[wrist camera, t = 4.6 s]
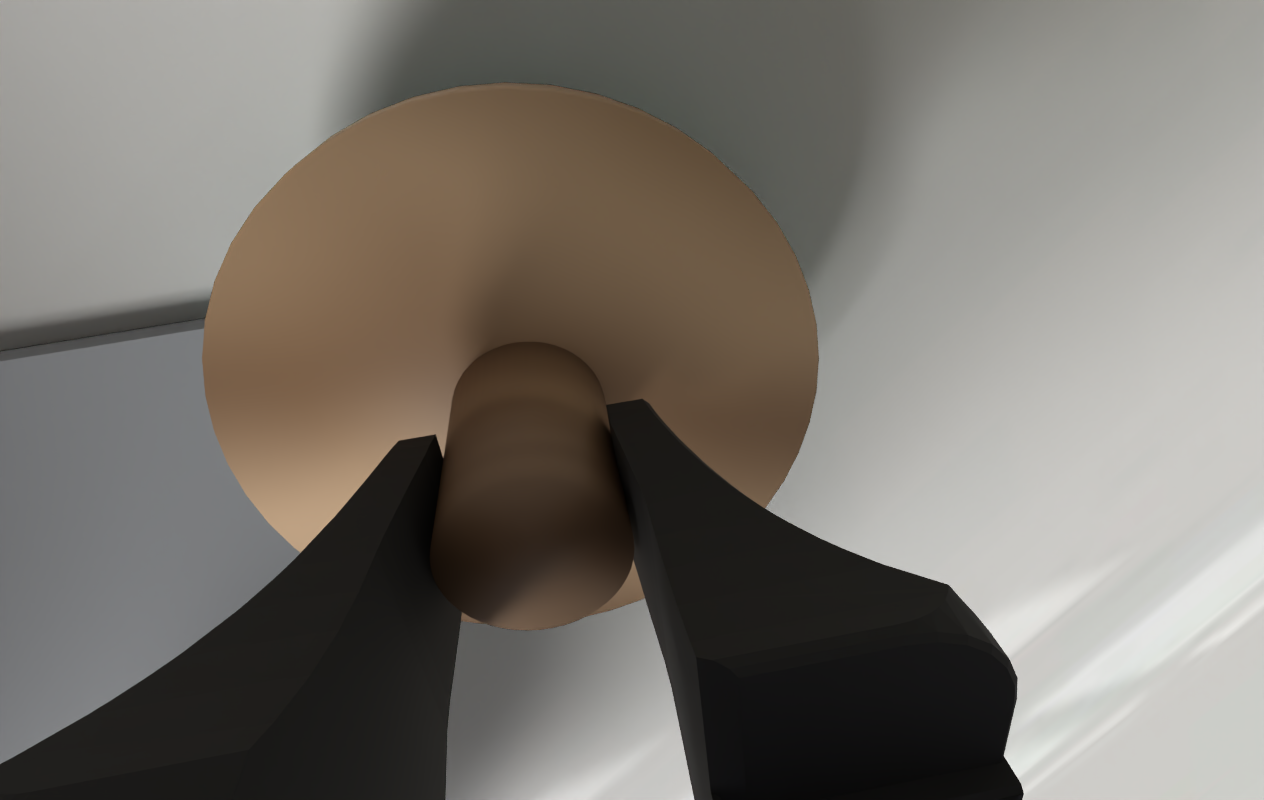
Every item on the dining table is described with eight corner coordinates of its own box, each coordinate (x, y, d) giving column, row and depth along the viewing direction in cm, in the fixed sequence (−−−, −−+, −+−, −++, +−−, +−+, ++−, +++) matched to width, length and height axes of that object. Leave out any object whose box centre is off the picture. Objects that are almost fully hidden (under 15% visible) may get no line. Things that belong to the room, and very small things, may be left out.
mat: (389, 701, 23) (386, 718, 22) (-50, 785, 22) (-64, 805, 21) (217, 316, 16) (207, 328, 16) (-421, 419, 15) (-454, 435, 15)
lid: (775, 574, 18) (854, 757, 14) (296, 620, 16) (222, 837, 12) (841, 77, 12) (1007, 131, 8) (128, 87, 11) (-107, 158, 7)
